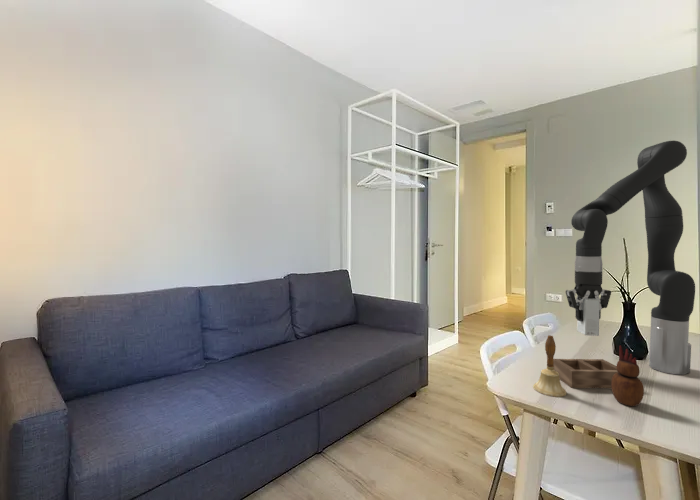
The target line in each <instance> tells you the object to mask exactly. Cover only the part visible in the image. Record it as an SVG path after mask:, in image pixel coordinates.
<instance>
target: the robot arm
mask: <svg viewBox="0 0 700 500" xmlns="http://www.w3.org/2000/svg"><path fill="white" fill-rule="evenodd" d="M687 155H688V150H687V147H686V145H685V144H684V143H682V142H681V141H678V140H667V141H662V142H659V143H655V144H653V145H650V146H648V147H645V148H644V149H642V150H641V151H640V152H639V153H638V155H637V159H636V160H637V163H636V165H637V169H636V170H635V171H633V172H632V173H630V174H628V175H626V176H625V177H623V178H621V179H620V180H618V181H616V182H615V183H613V184H612V185H611V186H609V188H607V189H606V190H605V191H604V192H602V194H600V195H599V196H598V197H597V198H596V199H593V201H591V202H588V204H587V203H586V204H585V205H584V206H582V207H581V208H579V209H578V210H577V211H576V212H575V213H574V214H573V216H572V217H571V226H572V227H573V229H574V230H577V231H579V232H583V236H582V238H579V239H577V240H576V243H575V260H574V284H575V285H574V288H573V289H570V290H569V289H566V290H565V296H566V299H567V303H568V307H570V308H573V309H575V316H574V317H575V319H576V320H578V321H583V310H582V309H583V307H584V299H599V320H601V319H602V318H601V317H602V316H601V315H602V310H603V309H606V308H608V305H609V303H610V299H611V295H612V291H611V290H610V289H609V290H608V289H604V288H603V287H602V284H603V258H602V254H603V253H602V250H603V249H602V248H603V246H602V244H603V241H604V238H605V235H606V232H607V229H608V223H609V222H608V215H612V214H615V213H616V212H618V211H619V210H620V209H622V208H623V207H624V206H625V205H626V204H627V203H628V202H630V201H631V200H632V199H633V198H634V197H635V196H637V195H638V194H639V193H640V192H642V198H643V206H644V223H645V224H644V225H645V230H646V246H647V248H646V249H647V271H646V283H647V286H648V287H647V288H648V289H649V291H650V292H651V293H653V294H655V295H656V296H659V303H658V305H657V306H655V307H652V308H651V310H650V311H651V312H650V330H649V331H650V334H649V337H650V338H649V359H648V360H649V361H648V363H649V365H648V366H649V367H650V368H651V369H653V370H656V371H659V372H661V373H666V374H671V375H687V374H690V373H691V365H692V364H691V362H692V361H691V358H692V344H691V343H689V333H690V332H689V331H690V330H689V329H690V317H691V315H692V313H693V312H694V307H695V306H694V305H695V298H696V282H695V281H694V280H695V279H694V278H693V277H692V275H690V274H689V273H687V272H684V271H679V270H676V266H675V265H676V264H675V263H676V262H675V253H676V249H677V247H678V244H679V243H680V240H681V238H682V236H683V232H684V218H683V217H684V216H683V214H684V213H683V210H682V207H681V206H680V204H679V202H678V201H677V199H675V198H674V196H673V194H671V192H670V191H669V190H668V187H667V185H666V180H665V179H666V178H665V175H666V174H667V173H670V172H671V171H673V170H674V169H676V168H677V167H679V166H681V165H682V164H683V163H684V162H685V160H686V159H687ZM580 299H582V300H580Z"/></svg>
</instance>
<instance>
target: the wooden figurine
mask: <svg viewBox="0 0 700 500" xmlns="http://www.w3.org/2000/svg"><path fill="white" fill-rule="evenodd" d="M616 366H617V367H616V369H617V371H618V372H619V373H615V374H614V375H613V377H612V382H611V388H610V389H611V391H612V395H613V397H614V399H615V400H616V401H617V402H618V403H620V404H622V405H624V406H628V407H637V406H639V405H641V402H642V401H643V398H644V395H645V387H644V384H643V382H642V381H641V379H640V378H639V376H640V370H641V369H640V367H639V364H638V362H637V357H633V353H629V349H628V348H626V349H625V352H624V351H623V347H622V345H619V350H618V361H617V363H616Z"/></svg>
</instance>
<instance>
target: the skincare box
mask: <svg viewBox="0 0 700 500" xmlns="http://www.w3.org/2000/svg"><path fill="white" fill-rule="evenodd" d="M580 300H582V299H580ZM582 310H583V321H578V320H577V319H576V320H577V321H576V323H577V324H576V331H577V332H579V333H581V334H582V335H584V336H587V337H588V336H591V337H592V336H593V337H594V336H595V337H599V336H600V319H599V299H584V307H583V309H582Z"/></svg>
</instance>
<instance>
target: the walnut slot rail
mask: <svg viewBox="0 0 700 500" xmlns="http://www.w3.org/2000/svg"><path fill="white" fill-rule="evenodd" d="M553 365H554V370H555V371H556V372H558V373H559V379H560V382H562V383H564V384H565V385H566V386H568V387H570V388H571V389H612V388H611V382H612V377H613V375H614V374H615V373H619V372H618V371H617V369H616V367H617V365H615V364H613V363H611V362H609V361H607V360H605V359H603V358H602V359H601V358H600V359H599V358H598V359H596V358H591V359H589V358H553Z"/></svg>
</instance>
